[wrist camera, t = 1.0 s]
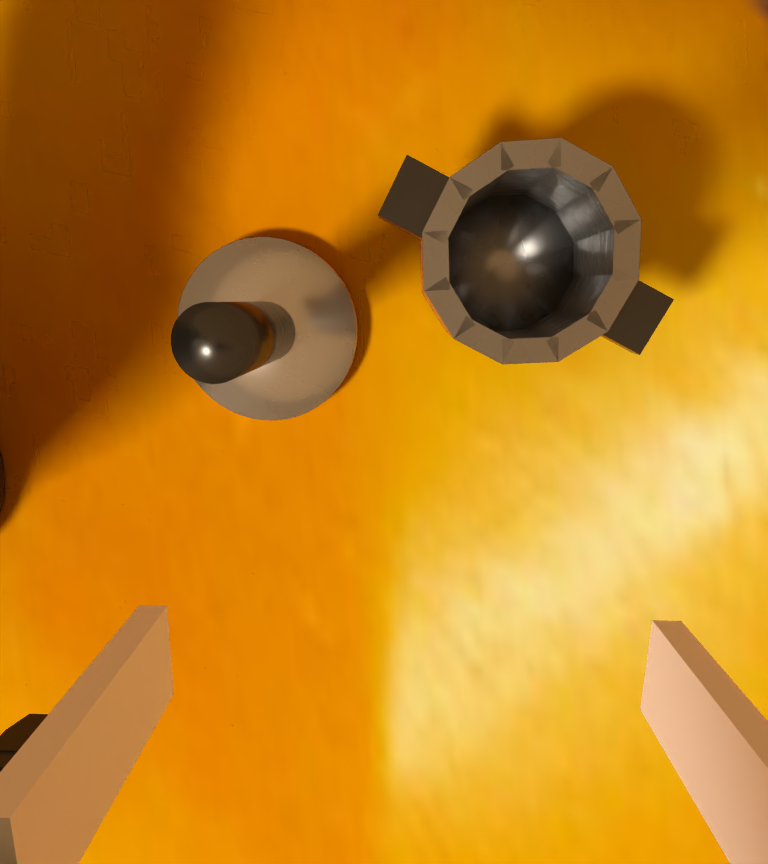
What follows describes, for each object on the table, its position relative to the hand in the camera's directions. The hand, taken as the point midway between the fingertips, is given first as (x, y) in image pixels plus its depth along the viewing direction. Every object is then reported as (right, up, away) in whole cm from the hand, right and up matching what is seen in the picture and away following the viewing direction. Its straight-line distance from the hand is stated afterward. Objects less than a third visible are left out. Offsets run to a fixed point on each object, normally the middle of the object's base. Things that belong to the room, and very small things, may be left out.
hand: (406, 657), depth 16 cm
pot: (+7, +16, +19) cm, 26 cm away
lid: (-8, +12, +21) cm, 26 cm away
